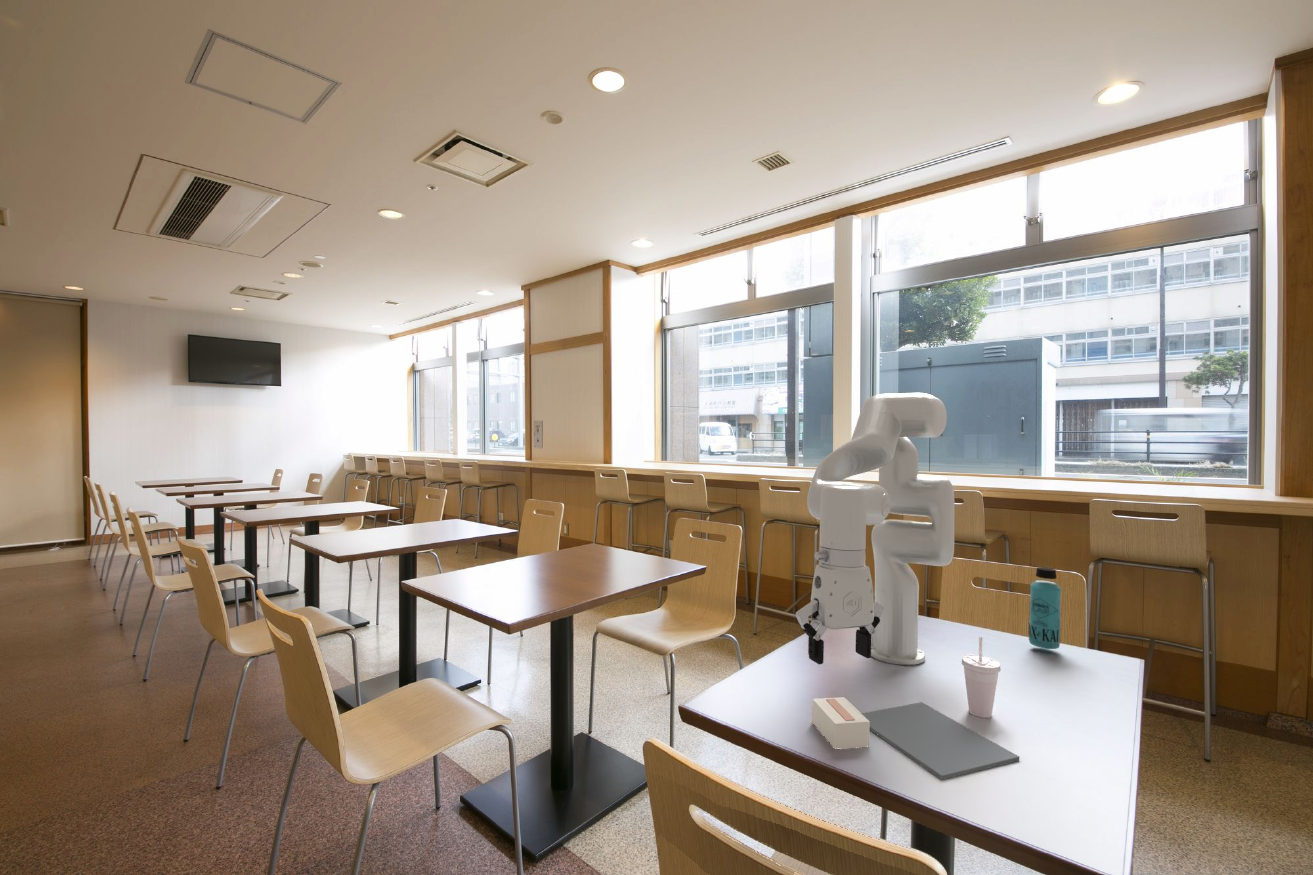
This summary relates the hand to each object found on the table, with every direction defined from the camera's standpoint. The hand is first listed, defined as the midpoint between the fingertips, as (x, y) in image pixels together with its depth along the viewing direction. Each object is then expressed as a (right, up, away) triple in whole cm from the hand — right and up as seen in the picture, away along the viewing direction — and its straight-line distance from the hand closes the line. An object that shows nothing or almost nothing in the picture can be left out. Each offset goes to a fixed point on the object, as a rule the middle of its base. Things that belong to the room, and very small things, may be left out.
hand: (839, 658), depth 100 cm
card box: (0, -13, 0) cm, 13 cm away
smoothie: (+29, -14, +9) cm, 33 cm away
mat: (+15, -13, 0) cm, 20 cm away
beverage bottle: (+62, -14, +42) cm, 77 cm away
